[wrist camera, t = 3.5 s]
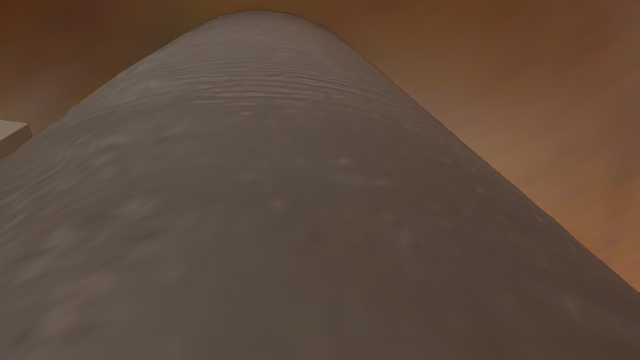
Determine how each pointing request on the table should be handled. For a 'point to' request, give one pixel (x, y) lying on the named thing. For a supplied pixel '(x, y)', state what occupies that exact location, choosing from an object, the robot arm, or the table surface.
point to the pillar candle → (283, 221)
